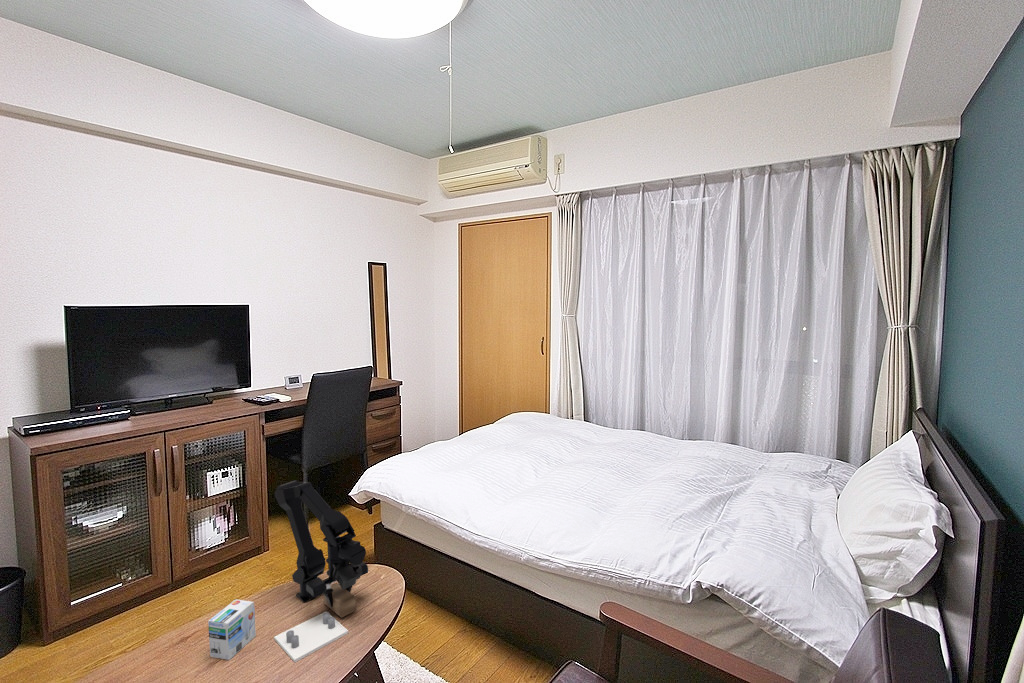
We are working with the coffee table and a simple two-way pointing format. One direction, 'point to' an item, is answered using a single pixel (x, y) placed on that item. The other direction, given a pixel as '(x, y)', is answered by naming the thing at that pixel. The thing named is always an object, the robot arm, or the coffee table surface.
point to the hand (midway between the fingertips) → (339, 602)
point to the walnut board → (341, 601)
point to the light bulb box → (231, 629)
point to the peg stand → (310, 636)
